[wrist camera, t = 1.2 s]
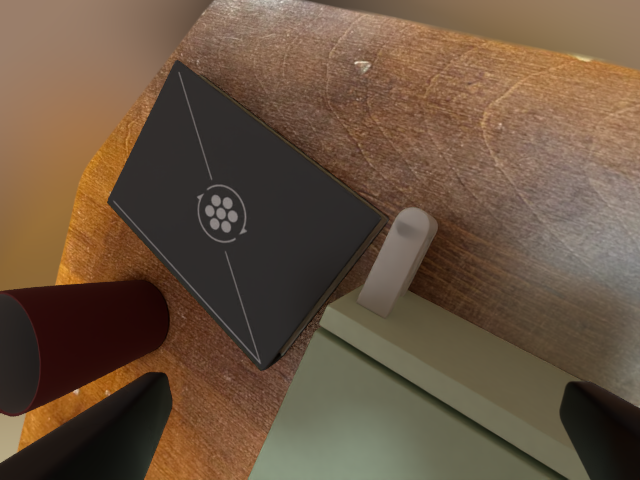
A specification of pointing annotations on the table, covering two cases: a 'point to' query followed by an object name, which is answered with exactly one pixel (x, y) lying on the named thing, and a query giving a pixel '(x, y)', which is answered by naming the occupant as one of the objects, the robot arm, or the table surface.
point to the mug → (73, 337)
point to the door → (454, 352)
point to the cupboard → (378, 428)
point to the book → (240, 215)
